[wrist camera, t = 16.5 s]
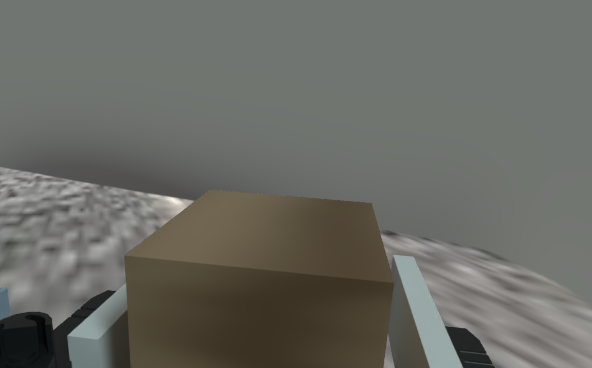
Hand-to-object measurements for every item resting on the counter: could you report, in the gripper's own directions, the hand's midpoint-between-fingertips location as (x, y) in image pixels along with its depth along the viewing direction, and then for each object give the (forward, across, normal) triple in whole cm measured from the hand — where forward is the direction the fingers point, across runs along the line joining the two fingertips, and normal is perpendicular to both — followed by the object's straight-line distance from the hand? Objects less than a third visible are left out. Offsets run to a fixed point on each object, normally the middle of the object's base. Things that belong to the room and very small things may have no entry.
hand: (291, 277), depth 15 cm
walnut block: (-5, 0, -6) cm, 8 cm away
